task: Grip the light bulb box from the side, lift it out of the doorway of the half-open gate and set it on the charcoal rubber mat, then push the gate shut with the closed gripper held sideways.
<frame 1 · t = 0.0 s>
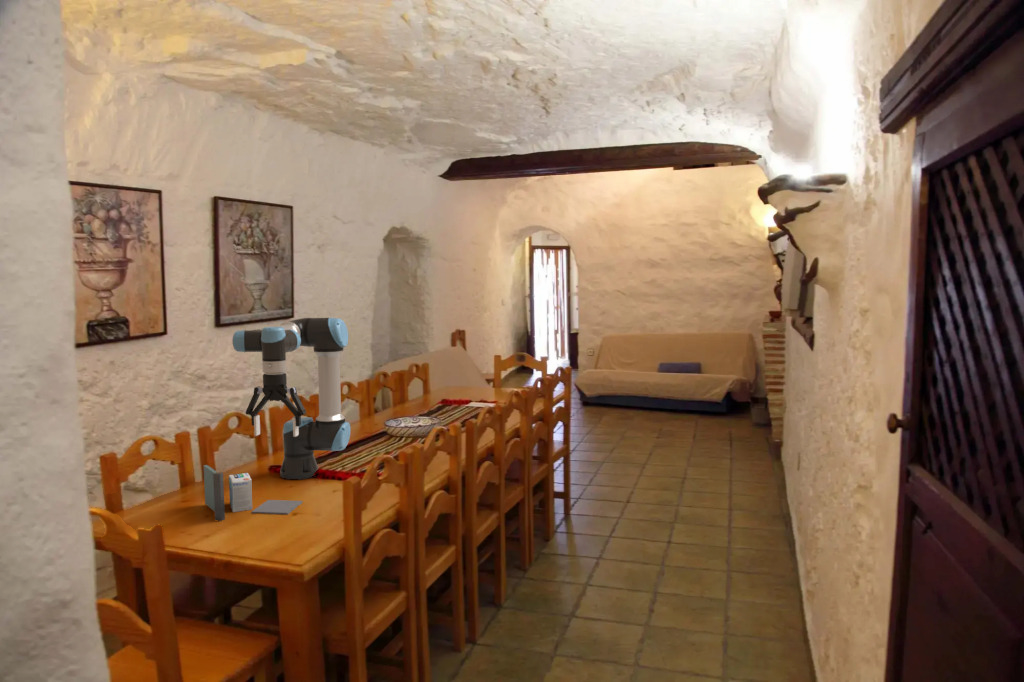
hand: (276, 435, 241), 28 cm above the table, tool pointing down, fingers open, 13 cm apart
light bulb box: (241, 507, 254), on the table
rubber mat: (277, 507, 252), on the table
gate: (213, 490, 248), point 8 cm above the table, hinge at 45.0°
gate post: (220, 519, 240), on the table
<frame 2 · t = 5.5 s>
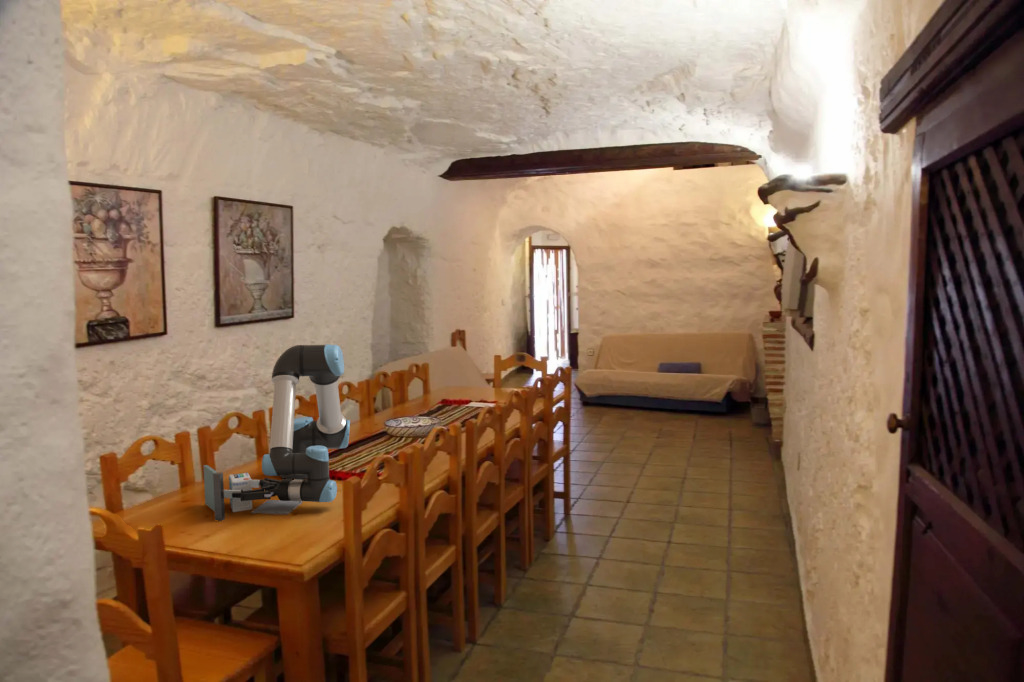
hand: (233, 488, 253), 7 cm above the table, tool horizontal, fingers closed on light bulb box, 12 cm apart
light bulb box: (241, 507, 254), on the table, touching gripper
everything else where it was.
when the fingers open (8 cm above the table, at t = 10.6 s): light bulb box drops 1 cm, resting on rubber mat.
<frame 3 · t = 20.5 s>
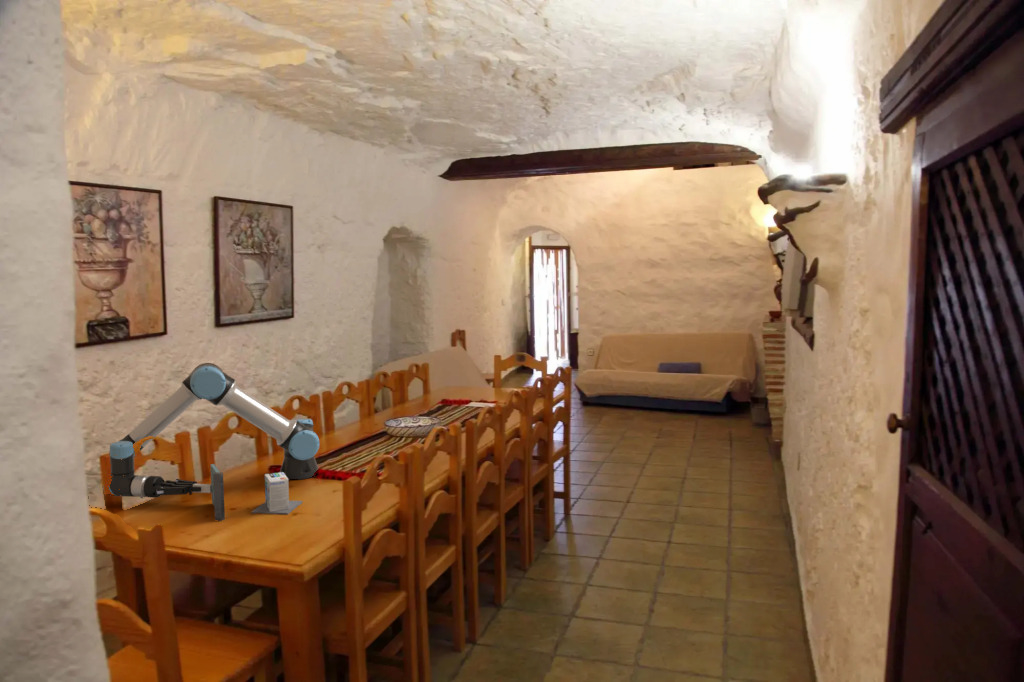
hand: (211, 488, 253), 7 cm above the table, tool horizontal, fingers closed
light bulb box: (277, 506, 252), resting on rubber mat
gate: (217, 489, 249), point 8 cm above the table, hinge at 37.4°, touching gripper
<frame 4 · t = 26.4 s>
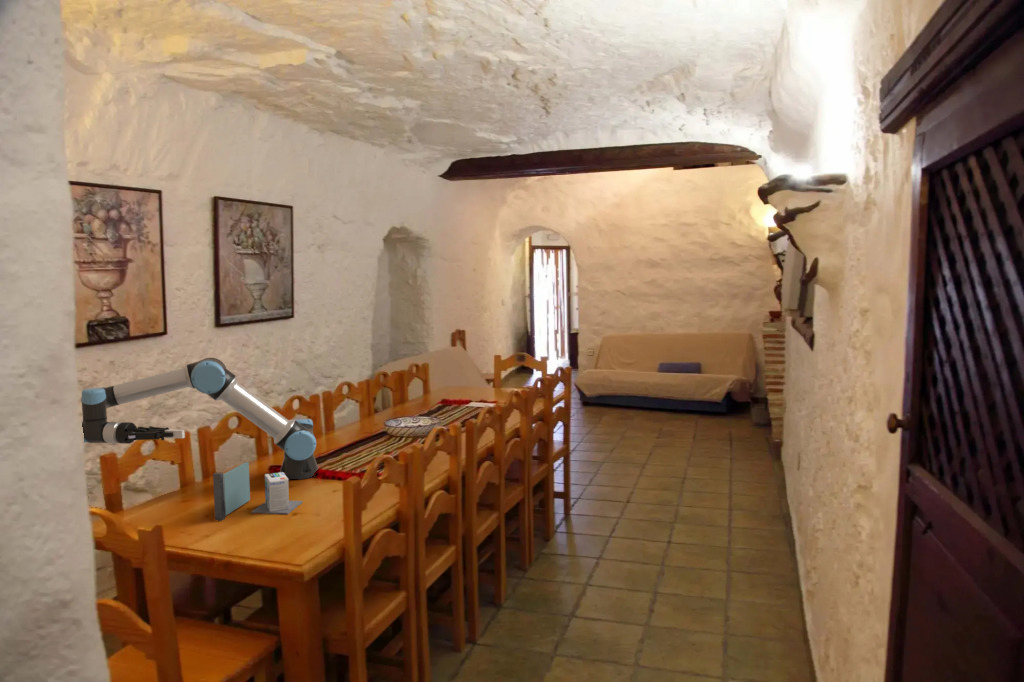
hand: (183, 434, 252), 26 cm above the table, tool horizontal, fingers closed
gate: (235, 488, 250), point 7 cm above the table, hinge at -0.9°
everything else where it was.
at the end: gate at -1° (first picture: +45°); light bulb box inside the target area (0.1 cm from its centre), resting on rubber mat; light bulb box tilted 0° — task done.
